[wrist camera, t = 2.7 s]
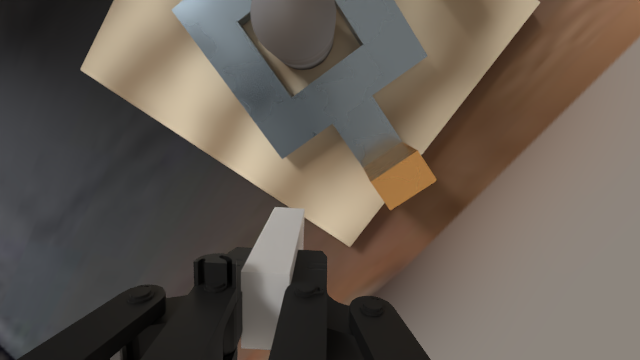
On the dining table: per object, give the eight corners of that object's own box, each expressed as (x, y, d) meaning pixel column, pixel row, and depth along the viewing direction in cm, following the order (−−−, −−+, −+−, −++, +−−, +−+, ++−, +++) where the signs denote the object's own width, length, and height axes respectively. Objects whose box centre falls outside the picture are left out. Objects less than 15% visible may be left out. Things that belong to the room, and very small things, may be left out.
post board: (92, 71, 23) (-9, 59, 16) (242, -230, 19) (194, -419, 12) (348, 240, 26) (357, 292, 19) (528, 7, 22) (624, -36, 15)
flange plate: (179, 14, 21) (135, -11, 16) (322, -106, 19) (321, -175, 14) (330, 218, 24) (331, 248, 19) (465, 129, 22) (503, 137, 18)
